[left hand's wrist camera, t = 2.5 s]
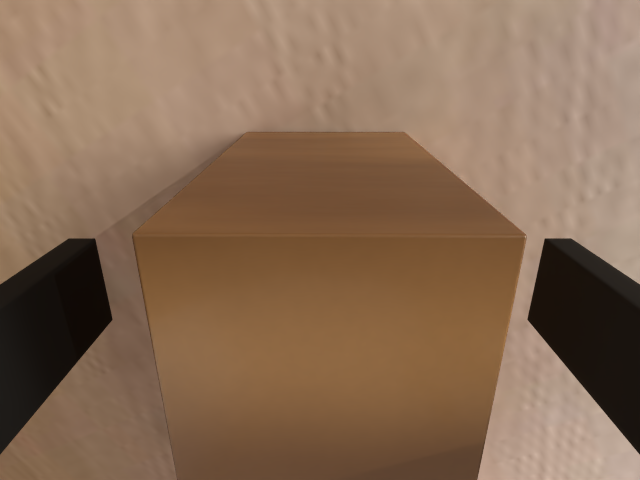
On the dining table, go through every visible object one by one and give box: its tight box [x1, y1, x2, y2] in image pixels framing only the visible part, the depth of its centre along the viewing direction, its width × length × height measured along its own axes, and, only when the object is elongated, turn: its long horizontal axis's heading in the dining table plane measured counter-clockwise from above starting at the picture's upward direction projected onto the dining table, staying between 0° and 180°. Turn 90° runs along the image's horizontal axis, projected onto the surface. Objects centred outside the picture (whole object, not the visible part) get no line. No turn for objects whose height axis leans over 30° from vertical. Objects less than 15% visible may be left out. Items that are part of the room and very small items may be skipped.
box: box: [132, 132, 527, 480], centre depth 16 cm, size 21×6×11 cm, turn 0°
